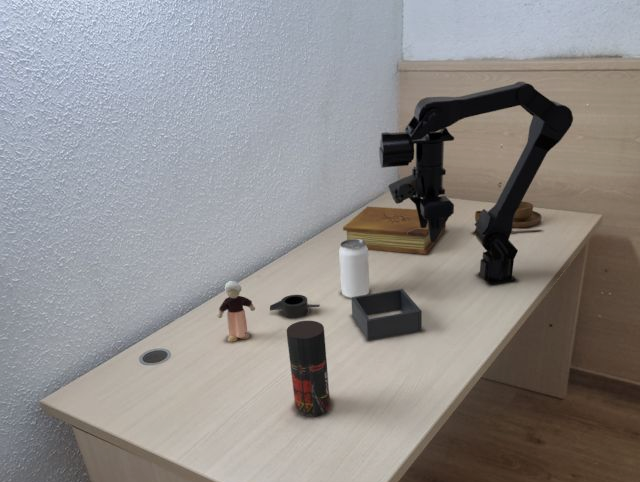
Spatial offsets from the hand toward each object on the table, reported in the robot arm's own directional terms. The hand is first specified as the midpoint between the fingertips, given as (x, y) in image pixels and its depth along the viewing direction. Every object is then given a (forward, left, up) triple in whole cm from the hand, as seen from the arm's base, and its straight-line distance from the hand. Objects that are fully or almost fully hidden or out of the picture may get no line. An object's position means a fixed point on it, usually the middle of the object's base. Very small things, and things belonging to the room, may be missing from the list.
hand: (427, 234), depth 136 cm
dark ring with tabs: (+32, +3, -12) cm, 34 cm away
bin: (+15, +15, -12) cm, 24 cm away
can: (+17, -2, -12) cm, 21 cm away
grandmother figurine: (+45, +10, -12) cm, 48 cm away
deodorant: (+36, +39, -12) cm, 55 cm away
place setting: (-35, -30, -12) cm, 48 cm away
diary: (-3, -31, -12) cm, 33 cm away
